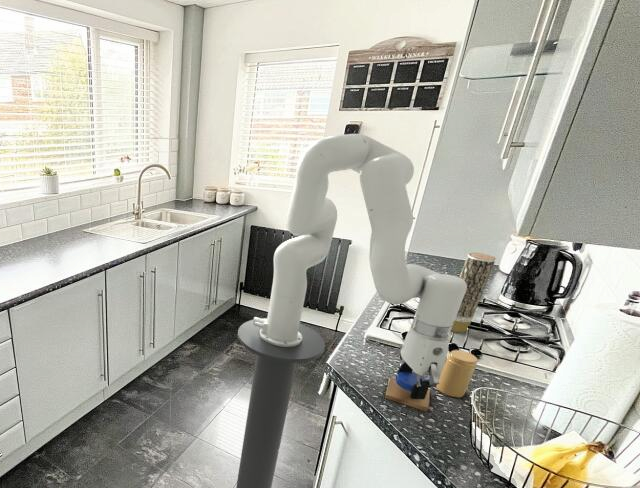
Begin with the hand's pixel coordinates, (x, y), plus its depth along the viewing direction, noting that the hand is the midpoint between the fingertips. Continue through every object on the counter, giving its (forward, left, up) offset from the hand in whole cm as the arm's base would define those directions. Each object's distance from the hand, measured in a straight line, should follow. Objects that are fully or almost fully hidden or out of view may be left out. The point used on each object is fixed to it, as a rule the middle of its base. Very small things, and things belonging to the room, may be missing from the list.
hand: (409, 388), depth 106 cm
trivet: (0, 0, -2) cm, 2 cm away
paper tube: (+10, +50, -2) cm, 51 cm away
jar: (+9, +9, -2) cm, 13 cm away
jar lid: (0, 0, +3) cm, 3 cm away
